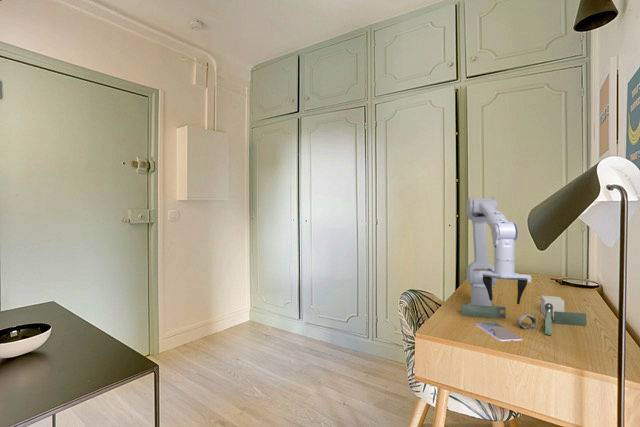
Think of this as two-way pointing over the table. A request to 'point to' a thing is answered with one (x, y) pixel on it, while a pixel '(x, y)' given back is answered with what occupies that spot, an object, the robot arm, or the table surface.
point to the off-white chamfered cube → (555, 301)
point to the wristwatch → (524, 318)
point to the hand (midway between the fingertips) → (504, 301)
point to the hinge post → (566, 317)
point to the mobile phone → (498, 331)
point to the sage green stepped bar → (548, 323)
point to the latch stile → (483, 311)
